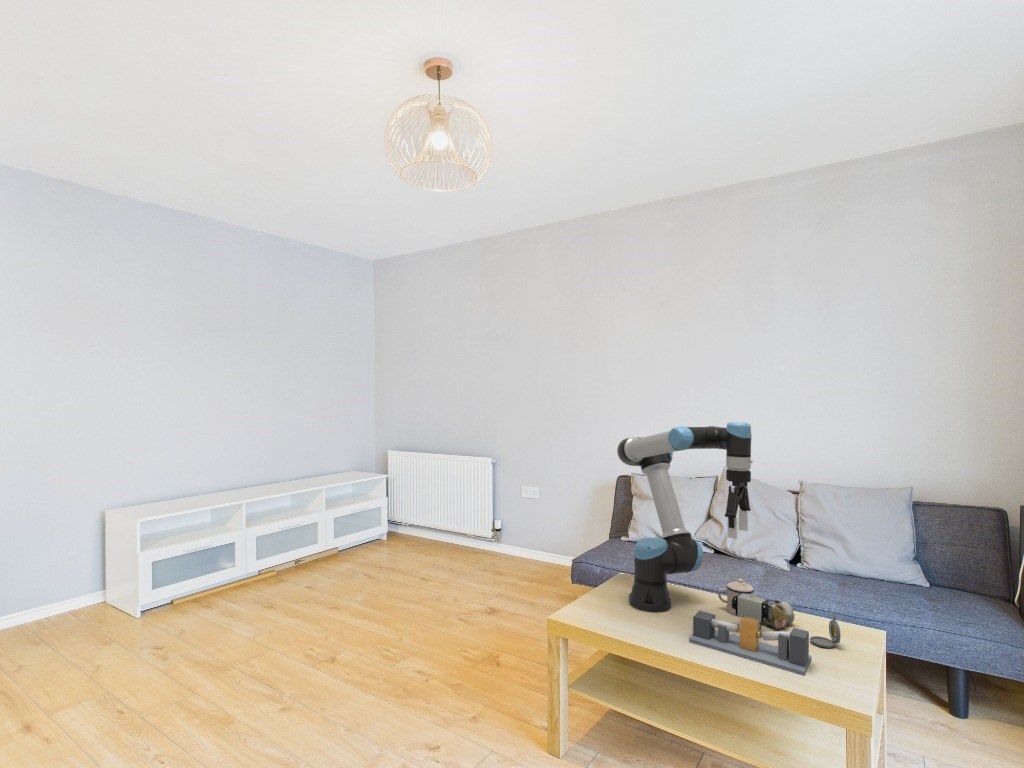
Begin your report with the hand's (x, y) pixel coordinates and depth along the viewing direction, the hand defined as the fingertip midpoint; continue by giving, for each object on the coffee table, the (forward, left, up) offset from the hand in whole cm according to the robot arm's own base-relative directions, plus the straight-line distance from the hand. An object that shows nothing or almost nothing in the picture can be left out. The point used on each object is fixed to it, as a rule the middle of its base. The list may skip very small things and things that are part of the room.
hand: (737, 534), depth 177 cm
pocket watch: (+19, +18, -32) cm, 41 cm away
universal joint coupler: (+11, -8, -31) cm, 34 cm away
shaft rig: (+11, -8, -32) cm, 34 cm away
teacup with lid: (-12, +14, -32) cm, 37 cm away
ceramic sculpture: (+2, +16, -32) cm, 36 cm away
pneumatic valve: (+2, +5, -32) cm, 32 cm away
